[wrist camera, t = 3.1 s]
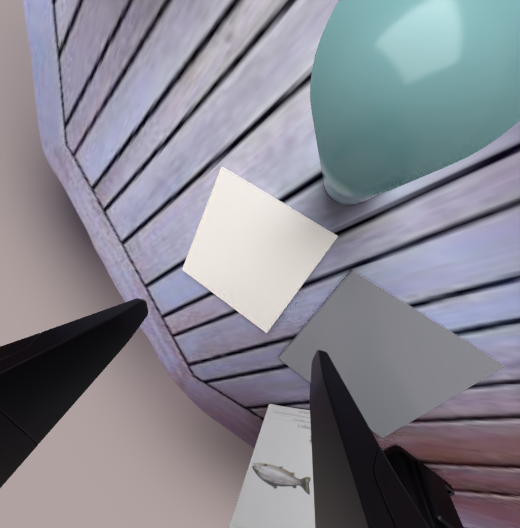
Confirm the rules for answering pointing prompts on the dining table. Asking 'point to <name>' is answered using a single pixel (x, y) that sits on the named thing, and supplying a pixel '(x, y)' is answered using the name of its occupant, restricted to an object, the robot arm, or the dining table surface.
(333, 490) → the robot arm
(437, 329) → the slate tile
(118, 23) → the dining table surface
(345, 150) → the teal cylinder
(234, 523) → the supplement box
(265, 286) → the pale tile
